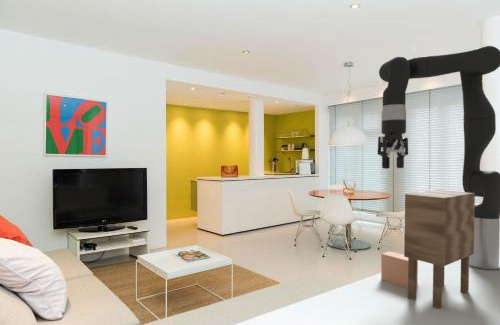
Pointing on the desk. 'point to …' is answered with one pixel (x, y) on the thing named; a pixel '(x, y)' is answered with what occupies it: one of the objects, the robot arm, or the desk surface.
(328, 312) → the desk surface
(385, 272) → the terracotta block
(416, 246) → the walnut cabinet
